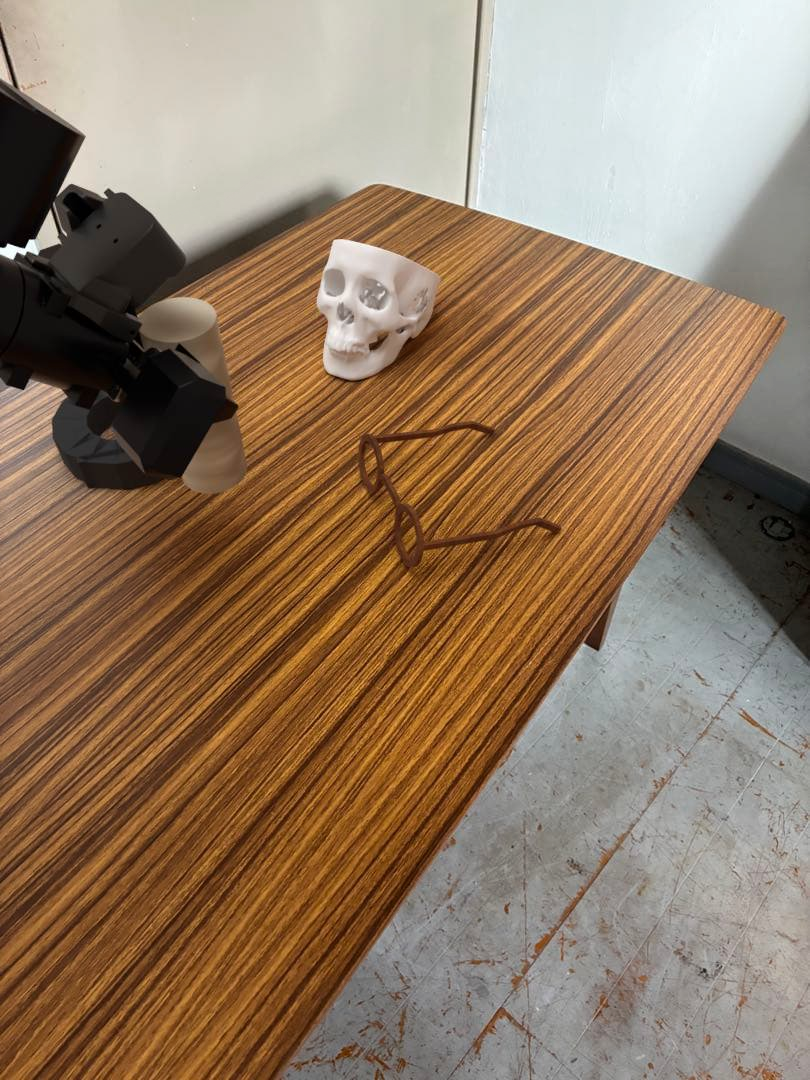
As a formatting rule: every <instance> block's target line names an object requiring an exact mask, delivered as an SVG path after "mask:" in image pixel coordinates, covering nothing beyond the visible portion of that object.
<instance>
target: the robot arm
mask: <svg viewBox="0 0 810 1080" xmlns="http://www.w3.org/2000/svg"><path fill="white" fill-rule="evenodd" d="M85 139H86V134H84V133H83V132H82V131H81V130H79V129H78V128H76V127H75V126H74V125H72V124H71V123H70V122H69V121H66V119H64V118H62V117H61V116H60V115H59V114H56V113H55V112H53V111H52V110H50V108H47V107H46V106H45V105H43V104H42V103H40V102H38V101H37V100H35V99H33V98H32V97H31V96H29V95H28V94H26V93H24V92H23V91H21V90H19V88H17V87H15V86H13V84H11V83H8V82H7V81H5V80H4V79H2V78H0V249H5V248H7V246H8V245H9V246H14V247H16V248H19V249H23V250H24V249H26V248H27V246H28V244H29V241H34V240H36V239H37V238H38V236H39V233H40V231H41V229H42V227H43V225H44V223H45V221H46V219H47V217H48V215H49V213H50V211H51V209H52V207H53V205H54V207H55V211H56V214H57V217H58V221H59V223H60V227H61V229H62V231H63V232H60V233H59V234H58V235H56V236H57V239H58V240H59V241H60V242H61V243H57V244H54V245H50V246H48V247H45V248H42V249H39V251H38V254H36V253H33V252H31V251H29V250H28V251H26V252H25V254H22V253H20V252H19V251H16V252H15V255H14V257H13V258H11V257H8V256H6V255H3V254H1V253H0V379H1V381H2V382H3V383H4V385H5V386H8V387H11V388H14V389H18V390H21V391H25V390H26V388H27V386H28V383H29V382H30V381H34V382H37V383H40V384H44V385H47V386H50V387H53V388H56V389H59V390H61V391H62V393H63V394H64V395H65V396H66V398H67V397H68V398H69V399H70V400H71V401H72V402H73V404H74V405H75V406H79V407H82V408H86V409H89V410H90V409H91V408H92V406H93V404H94V402H95V400H96V398H97V396H98V395H99V393H100V391H103V392H105V393H106V394H107V395H108V396H109V397H110V398H111V400H113V401H115V402H120V400H121V399H122V397H123V395H124V393H126V394H127V397H126V398H125V400H124V402H123V404H122V406H121V408H120V409H119V411H118V413H117V415H116V417H115V418H114V420H113V422H112V424H111V425H110V427H111V429H112V432H113V434H114V437H115V440H117V442H118V444H119V445H120V446H121V447H122V448H123V449H124V450H125V452H126V453H127V454H128V455H129V456H130V457H131V458H132V460H133V461H134V462H135V463H136V464H137V465H138V467H139V468H140V469H141V470H142V471H143V472H144V473H145V474H146V475H151V476H155V477H159V478H164V479H163V480H169V481H174V480H178V479H182V475H183V474H184V472H185V470H186V469H187V467H188V465H189V464H190V462H191V460H192V458H193V457H194V455H195V453H196V452H197V450H198V448H199V446H200V445H201V443H202V441H203V440H204V438H205V436H206V434H207V433H208V431H209V429H210V428H211V426H212V424H214V423H218V422H222V421H225V420H229V419H231V418H232V417H233V416H234V414H235V412H237V411H238V409H239V404H238V403H237V402H235V400H234V401H233V400H231V399H230V398H228V397H227V396H226V387H225V386H224V385H223V384H222V383H221V382H219V381H218V380H217V379H216V378H215V377H214V376H213V375H212V374H211V373H210V372H209V371H208V370H207V369H206V368H205V367H203V366H202V365H201V363H200V362H199V361H198V360H197V359H196V358H195V357H194V356H193V355H192V354H191V353H190V352H189V351H188V350H186V349H185V348H184V347H183V346H182V345H181V344H180V343H178V345H177V347H176V348H175V350H173V349H170V348H168V349H166V350H164V351H161V350H160V349H158V348H156V347H151V348H149V349H148V350H146V351H145V350H144V347H143V344H142V340H141V337H140V334H139V329H140V328H141V326H142V323H141V322H140V321H139V320H138V319H139V316H138V314H137V309H139V308H140V307H141V306H142V305H143V304H144V303H146V301H147V300H148V299H149V298H150V297H151V296H153V294H154V293H156V292H157V291H158V290H159V289H160V288H161V287H162V286H163V284H165V283H166V282H168V280H169V279H171V278H175V277H177V276H178V275H179V274H180V272H182V271H183V269H184V267H185V265H186V262H187V256H186V254H185V252H184V251H183V250H182V249H181V248H180V246H179V245H178V244H177V243H176V241H175V240H174V239H173V238H172V236H171V235H170V234H169V232H168V231H167V229H165V228H164V226H163V225H162V224H161V223H160V222H159V220H158V219H157V217H155V216H154V214H153V213H152V212H151V211H150V210H148V209H147V208H146V207H144V206H143V205H142V204H140V202H138V201H136V200H135V198H133V197H132V196H131V195H129V194H128V193H127V192H123V191H120V192H114V191H113V190H111V188H109V187H108V188H107V189H105V190H104V191H103V194H104V196H105V197H106V198H105V197H102V196H101V195H100V194H98V193H97V192H95V191H92V190H89V189H86V188H84V187H82V186H79V185H77V184H74V183H70V184H68V185H66V187H65V188H64V189H63V190H62V191H61V189H62V186H63V184H64V183H65V181H66V178H67V176H68V174H69V172H70V170H71V168H72V166H73V164H74V162H75V160H76V158H77V155H78V154H79V151H80V150H81V147H82V146H83V143H84V142H85ZM60 191H61V192H60ZM59 192H60V193H59Z"/></svg>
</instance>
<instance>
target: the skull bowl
mask: <svg viewBox="0 0 810 1080" xmlns="http://www.w3.org/2000/svg"><path fill="white" fill-rule="evenodd" d="M441 281H442V279H441V277H440V276H439V275H438V274H437V273H436V272H434V271H432V270H431V269H429V268H427V267H425V266H423V265H421V264H419V263H417V262H415V261H414V260H412V259H409V258H407V257H405V256H403V255H400V254H398V253H395V252H393V251H389V250H387V249H384V248H381V247H377V246H374V245H371V244H367V243H362V242H358V241H354V240H349V239H342V238H341V239H333V240H332V244H331V247H330V251H329V256H328V259H327V263H326V265H325V266H324V268H323V271H322V275H321V281H320V285H319V290H318V293H317V297H316V307H317V310H318V311H319V312H320V313H321V314H323V315H324V316H325V317H326V320H327V328H326V334H325V340H324V344H323V350H322V362H323V368H324V370H325V371H326V372H327V373H328V374H329V375H330V376H335V377H338V378H340V379H342V380H343V379H344V380H347V381H359V380H363V379H367V378H370V377H373V376H375V375H377V374H378V373H380V372H382V370H384V369H385V368H386V367H388V366H390V365H391V364H393V362H395V360H396V359H397V357H398V355H399V354H400V352H401V350H402V348H403V347H404V345H405V343H406V342H407V341H408V339H409V338H410V339H415V338H416V337H418V336H420V334H421V332H422V331H423V330H424V329H425V328H426V326H427V325H428V323H429V322H430V319H431V317H432V315H433V312H434V307H435V301H436V296H437V293H438V292H439V291H438V290H439V287H440V285H441ZM402 330H403V331H402ZM384 333H388V335H387V337H385V339H384V340H383V342H382V343H381V344H380V345H379V347H377V348H376V349H370V345H371V344H373V343H377V342H378V336H379V335H380V334H384Z"/></svg>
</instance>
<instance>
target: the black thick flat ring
mask: <svg viewBox="0 0 810 1080" xmlns="http://www.w3.org/2000/svg"><path fill="white" fill-rule="evenodd" d="M126 397H127V394H126V393H124V395H123V397H122V399H121V400H120V402H115V401H113V400H111V398H110V397H109V396H108V395H107V394H106V393H105V392H103V391H100V393H99V395H98V396H97V398H96V400H95V402H94V404H93V406H92V408H91V409H90V410H89V409H86V408H82V407H79V406H75V405H74V404H73V402H72V401H71V400H70V399H69V398H68V397H67V396H66V398H64V399H63V400H62V401H61V402H60V404H59V406H58V408H57V409H56V411H55V413H54V415H53V417H52V418H51V431H52V434H51V435H52V439H53V442H54V444H55V446H56V449H57V451H58V453H59V455H60V457H61V459H62V462H63V464H64V465H65V467H66V468H67V469H68V470H69V471H70V473H71V474H72V475H73V476H74V477H75V478H76V480H79V481H81V482H83V483H85V484H86V487H87V489H92V488H100V489H115V490H128V489H129V490H130V489H134V488H138V487H144V486H148V485H153V484H157V483H159V482H160V481H163V480H165V479H164V478H159V477H155V476H151V475H146V474H145V473H144V472H143V471H142V470H141V469H140V468H139V467H138V465H137V464H136V463H135V462H134V461H133V460H132V458H131V457H130V456H129V455H128V454H127V453H126V452H125V450H124V449H123V448H122V447H121V446H120V445H119V444H118V442H117V440H116V439H111V438H104V437H102V436H101V434H102V433H103V432H104V431H105V430H106V429H107V428H108V427H111V424H112V422H113V420H114V418H115V417H116V415H117V413H118V411H119V409H120V408H121V406H122V404H123V402H124V400H125V398H126Z"/></svg>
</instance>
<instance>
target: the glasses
mask: <svg viewBox="0 0 810 1080" xmlns="http://www.w3.org/2000/svg"><path fill="white" fill-rule="evenodd" d="M468 429H470V430H473V431H477V432H479V433H483V434H486V435H489V436H493V434H494V433H496V429H495V427H492V426H490V425H487V424H483V423H480V422H478V421H477V422H476V421H474V420H468V421H467V420H466V421H460V422H455V423H454V422H453V423H450V424H446V425H443V426H440V427H436V428H430V429H423V430H413V431H403V432H395V433H386V434H376V435H373V434H372V433H363V434H362V435H361V437H360V440H359V443H358V449H357V450H358V451H357V462H358V469H359V473H360V478H361V480H362V482H363V485H364V487H365V489H366V490H367V491H368V492H369V493H371V494H375V493H378V492H379V491H380V490H381V487H382V485H384V487H385V489H386V491H387V493H388V494H389V496H390V498H391V500H392V503H393V506H394V508H395V513H394V520H393V521H394V522H393V536H394V541H395V545H396V548H397V549H396V550H397V552H398V554H399V557H400V558H401V560H402V562H403V563H404V564H405V565H406V567H408V568H412V569H413V568H416V567H418V566H420V564H421V563H422V560H423V556H424V552H425V551H426V552H427V551H431V550H432V551H433V550H437V549H443V548H449V547H455V546H456V547H457V546H460V545H461V546H462V545H467V544H474V543H478V542H484V541H491V540H496V539H499V538H501V537H504V536H506V535H509V534H511V533H513V532H516V531H519V530H523V529H526V528H527V529H528V528H531V527H534V526H536V527H539V528H541V529H544V530H547V531H550V532H552V533H554V534H557V533H559V532H561V531H562V529H563V528H562V526H561V525H560V524H557V523H555V522H553V521H550V520H547V519H545V518H542V517H534V518H529V519H524V520H520V521H516V522H513V523H511V524H508V525H505V526H503V527H500V528H497V529H494V530H488V531H482V532H476V533H470V534H464V535H463V534H462V535H457V536H451V537H446V538H445V537H444V538H440V539H439V538H438V539H434V540H426V541H425V535H424V531H423V526H422V523H421V520H420V518H419V515H418V513H417V512H416V510H415V509H414V507H413V506H412V505H410V504H409V503H405V502H401V498H400V495H399V493H398V491H397V489H396V487H395V486H394V484H393V482H392V480H391V478H390V477H389V475H388V474H386V473H385V463H384V457H383V453H382V449H381V447H380V444H385V443H393V442H394V443H395V442H403V441H412V440H413V441H414V440H421V439H429V438H436V437H439V436H442V435H445V434H449V433H451V432H457V431H463V430H468ZM368 445H370V446H371V448H372V450H373V453H374V456H375V461H376V477H375V480H374V483H372V482H371V479H370V478H369V476H368V472H367V469H366V462H365V461H366V460H365V459H366V458H365V457H366V456H365V455H366V453H365V452H366V448H367V446H368ZM405 513H406V514H407V516H408V517H409V519H410V521H411V523H412V525H413V528H414V532H415V540H416V543H415V545H416V546H415V552H414V556H413V557H412V558H411V556H410V555H409V554H408V552H407V549H406V548H405V544H404V542H403V537H402V521H403V516H404V514H405Z"/></svg>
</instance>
